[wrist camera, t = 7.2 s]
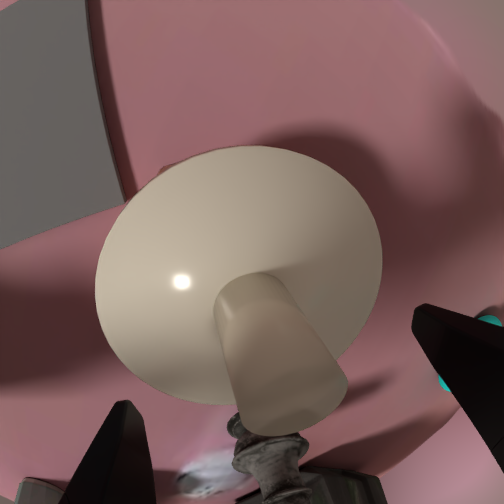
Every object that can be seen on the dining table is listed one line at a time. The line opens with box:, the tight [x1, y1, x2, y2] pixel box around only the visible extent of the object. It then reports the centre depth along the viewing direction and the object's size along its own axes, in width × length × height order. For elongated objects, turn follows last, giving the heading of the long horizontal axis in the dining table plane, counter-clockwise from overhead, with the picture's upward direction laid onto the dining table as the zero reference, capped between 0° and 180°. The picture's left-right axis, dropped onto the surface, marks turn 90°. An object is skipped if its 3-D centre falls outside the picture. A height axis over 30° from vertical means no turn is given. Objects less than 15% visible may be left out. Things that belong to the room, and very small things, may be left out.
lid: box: [95, 145, 382, 436], centre depth 9 cm, size 11×11×5 cm
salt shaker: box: [227, 412, 312, 504], centre depth 16 cm, size 6×6×12 cm
